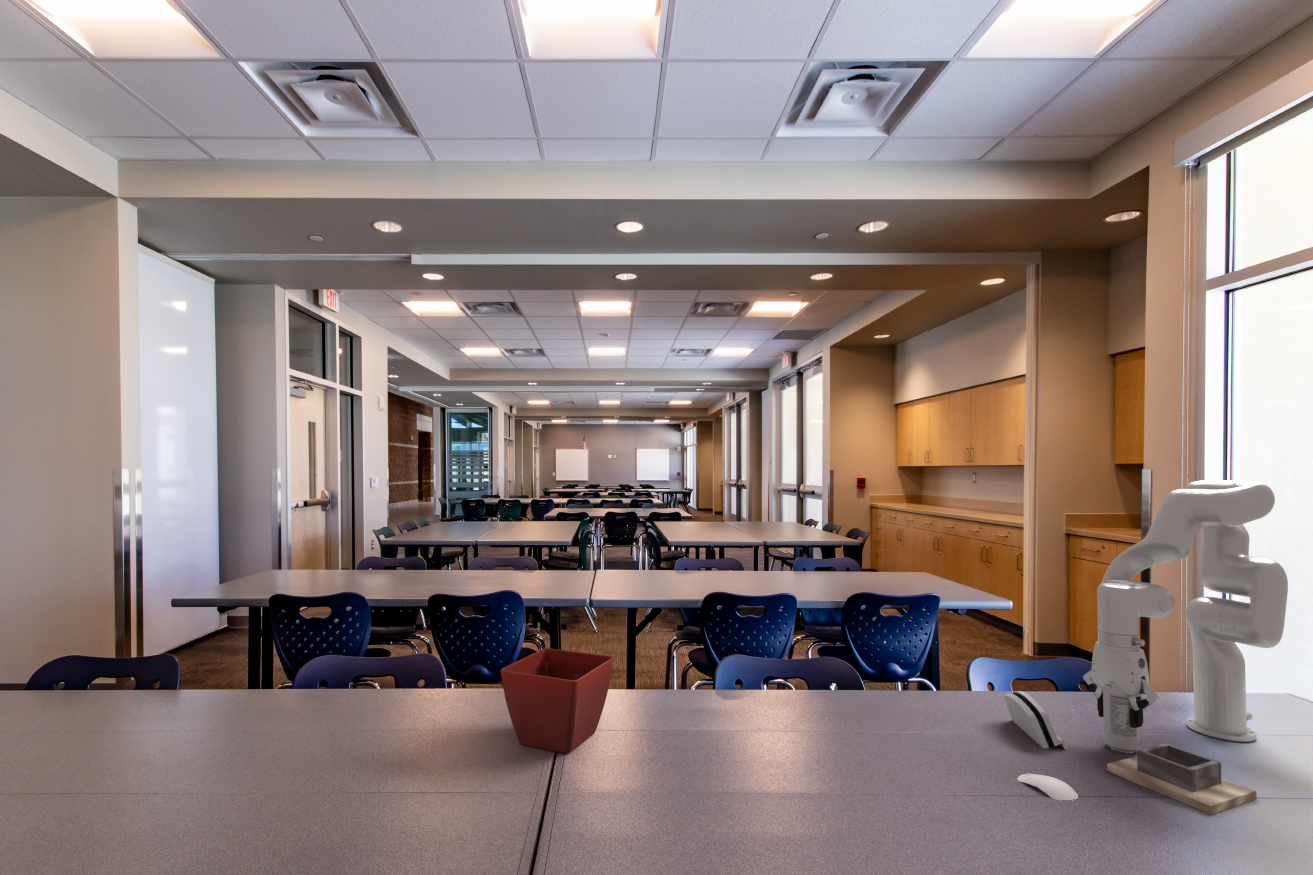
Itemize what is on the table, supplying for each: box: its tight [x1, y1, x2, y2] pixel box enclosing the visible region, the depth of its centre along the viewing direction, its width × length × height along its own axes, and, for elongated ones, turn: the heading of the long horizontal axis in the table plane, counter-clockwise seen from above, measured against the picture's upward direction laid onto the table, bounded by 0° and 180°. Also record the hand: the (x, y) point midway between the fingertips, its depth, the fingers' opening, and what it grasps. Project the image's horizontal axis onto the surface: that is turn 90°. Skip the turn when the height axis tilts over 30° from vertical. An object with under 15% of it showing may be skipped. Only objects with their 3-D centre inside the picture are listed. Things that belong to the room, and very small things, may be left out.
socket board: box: [1106, 742, 1257, 816], centre depth 127 cm, size 15×18×6 cm
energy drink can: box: [1103, 680, 1138, 754], centre depth 144 cm, size 6×6×15 cm
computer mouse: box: [1016, 772, 1079, 801], centre depth 126 cm, size 7×12×2 cm, turn 21°
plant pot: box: [500, 648, 614, 754], centre depth 145 cm, size 19×19×17 cm
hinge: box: [1003, 690, 1067, 750], centre depth 152 cm, size 17×5×10 cm, turn 173°
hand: (1119, 720), depth 144 cm, fingers closed on energy drink can, 6 cm apart
